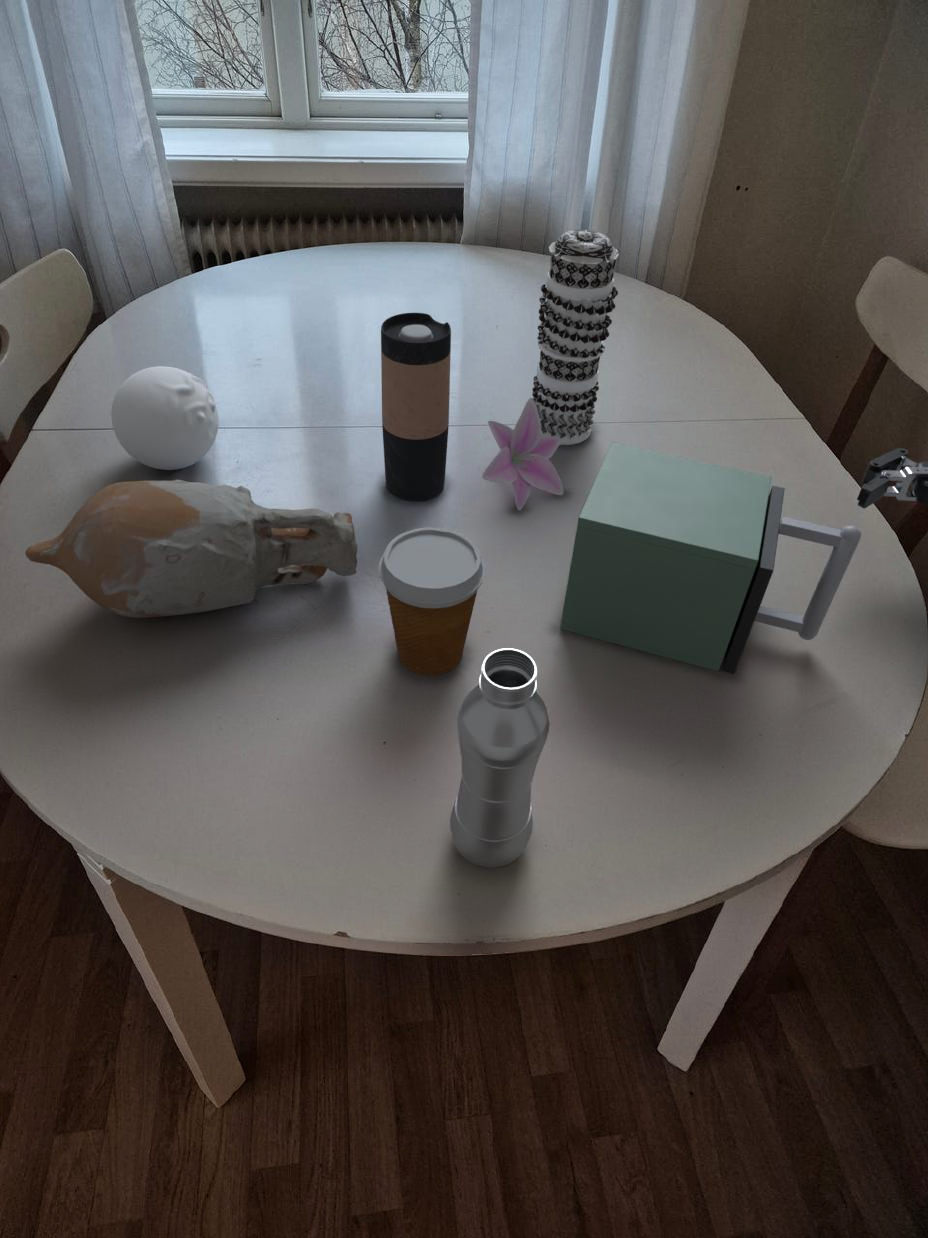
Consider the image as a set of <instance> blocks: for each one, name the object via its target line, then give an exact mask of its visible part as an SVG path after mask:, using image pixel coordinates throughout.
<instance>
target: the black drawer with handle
mask: <svg viewBox="0 0 928 1238" xmlns="http://www.w3.org/2000/svg"><path fill="white" fill-rule="evenodd" d="M785 490H786V489H785V487H782V486H781V487H780V486H776V485H772V486H771V487H770V490H769V497H768V503H767V509H766V515H765V522H764V528H763V534H762V540H761V547H760V553H759V559H758V563H757V566H756V568H755V571H754V574H753V577H752V580H751V582H750V585H749V588H748V591H747V594H746V596H745V599H744V602H743V605H742V608H741V610H740V613H739V616H738V619H737V621H736V624H735V627H734V630H733V633H732V635H731V638H730V641H729V644H728V647H727V649H726V652H725V655H724V658H723V661H722V668H721V671H722V672H723V673H728V674H732V675H735V673H736V671H737V668H738V666H739V663H740V660H741V657H742V655H743V652H744V650H745V647H746V645H747V642H748V639H749V636H750V634H751V631H752V629H753V627H754V623H755V622H756V623H761V624H764V625H769V626H773V627H777V628H780V629H783V630H789V631H791V632H796V633H798V635H799V637H800V638H801V639H803V640H805V641H810V640H811V641H812V640H813V639H815V638H816V637H817V636H818V633H819V631H820V629H821V627H822V624H823V621H824V620H825V617H826V615H827V613H828V611H829V609H830V606H831V604H832V602H833V600H834V598H835V596H836V594H837V590H838V589H839V586H840V585H841V582H842V580H843V578H844V576H845V574H846V571H847V569H848V567H849V565H850V563H851V561H852V558H853V556H854V554H855V552H856V549H857V547H858V545H859V543H860V540H861V538H862V533H861V532H862V531H861V530H860V528H859V527H857V526H856V525H852V524H851V525H850V524H849V525H846V526H844V527H842V528H841V529H839V528H835V527H829V526H826V525H822V524H817V523H813V522H808V521H804V520H800V519H795V518H792V517H787V516H782V511H783V504H784V496H785ZM779 535H782V536H786V537H790V538H794V539H799V540H803V541H808V542H812V543H816V544H821V545H825V546H829V547H832V550H831V552H830V554H829V555H828V556H829V557H828V559H827V561H826V563H825V566H824V568H823V571H822V573H821V575H820V577H819V580H818V582H817V585H816V587H815V589H814V592H813V594H812V596H811V599H810V600H809V603H808V606H807V608H806V610H805V612H804V615H803V616H802V615H800V614H799V615H798V614H795V613H790V612H787V611H783V610H779V609H774V608H770V607H766V606H763V605H762V602H763V599H764V597H765V595H766V591H767V588H768V586H769V584H770V581H771V579H772V576H773V573H774V571H775V563H776V555H777V547H778V539H779Z"/></svg>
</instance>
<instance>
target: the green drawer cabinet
mask: <svg viewBox="0 0 928 1238" xmlns="http://www.w3.org/2000/svg"><path fill="white" fill-rule="evenodd" d="M771 484H772V476H770V475H765V474H761V473H755V472H751V471H747V470H743V469H738V468H733V467H729V466H725V465H719V464H715V463H711V462H706V461H701V460H697V459H692V458H688V457H682V456H678V455H674V454H669V453H665V452H660V451H656V450H652V449H647V448H641V447H637V446H634V445H629V444H623V443H619V442H614V441H611V442H610V444H609V447H608V449H607V451H606V454H605V456H604V458H603V460H602V462H601V465H600V468H599V469H598V472H597V474H596V476H595V479H594V480H593V483H592V486H591V488H590V490H589V493H588V495H587V498H586V500H585V502H584V505H583V507H582V509H581V511H580V514H579V516H578V519H577V526H576V532H575V535H574V536H575V538H574V543H573V549H572V553H571V554H572V555H571V561H570V566H569V572H568V579H567V585H566V591H565V596H564V602H563V609H562V614H561V620H560V621H561V622H560V628H559V629H560V630H563V631H566V632H570V633H573V634H578V635H582V636H584V637H589V638H593V639H596V640H599V641H604V642H606V643H607V642H608V643H611V644H615V645H619V646H623V647H626V648H628V649H629V648H630V649H633V650H637V651H641V652H644V653H648V654H652V655H655V656H659V657H662V658H667V659H671V660H674V661H678V662H681V663H685V664H689V665H693V666H696V667H700V668H703V669H707V670H712V671H715V672H719V671H720V668H721V665H722V664H723V661H724V657H725V652H726V649H727V647H728V644H729V641H730V638H731V635H732V633H733V630H734V627H735V624H736V621H737V619H738V616H739V613H740V610H741V608H742V605H743V602H744V599H745V596H746V594H747V591H748V588H749V585H750V582H751V580H752V577H753V574H754V571H755V568H756V566H757V563H758V559H759V553H760V547H761V540H762V534H763V528H764V522H765V515H766V509H767V503H768V497H769V494H770V491H771Z"/></svg>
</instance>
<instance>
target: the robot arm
mask: <svg viewBox="0 0 928 1238" xmlns="http://www.w3.org/2000/svg"><path fill="white" fill-rule="evenodd" d="M909 453H910V452H909V450H908V449H906V448H904V447H897V448H895V449H893V450H891V451H888V452H886V453H885V454H882V455H881V456H878V457H876V458H873V459H872V460H870V461H869V463H868V466H867V467H866V470H865V472H864V474H863V477H862V479H861V483H862V486H861V489H860V491H859V493H858V495H857V498H856V500H858V502H857V506H858V507H860V508H862V509H864V510H865V509H867V508H868V507H870V506H872V505H873V504H875V503H877V502H878V501H880V500H882V499H883V497H895V498H896V500H897V501H900V502H918V503H920V504H922V505H923V506H927V507H928V461H921V462H918V463H917V462H915V461H913V460H912V459H909V458H908V455H909ZM894 481H895V482H896V484H894V485H891V482H894ZM910 487H911V490H909V488H910Z"/></svg>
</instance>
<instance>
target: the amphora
mask: <svg viewBox="0 0 928 1238" xmlns="http://www.w3.org/2000/svg"><path fill="white" fill-rule="evenodd" d="M358 546H359V545H358V543H357V539H356V531H355V526H354V523H353V517H352V514H350V513H349V512H335V513H334V514H333V515H332V514H331V513H329V512H327V511H324V510H322V509H320V508H317V507H312V508H301V509H287V508H269V507H265V506H262V505H259V504H257V503H255V502H254V500H253V498H252V493H251V490H250V489H248V488H246V487H244V486H242V485H239V486H238V487H234V486H231V485H229V484H228V485H227V484H222V485H217V484H210V483H209V484H208V483H204V482H198V481H197V482H195V481H193V482H192V481H185V480H183V479H174V480H133V481H121V482H120V481H119V482H114V483H111V484H108V485H106V486H104V487H103V488H102V489H100V490H98V491H96V493H94V494H92V496H90V497H89V498H88V499H87V500H86V501H85V502H84V503H83V504H82V505H81V506H80V507H79V509H78V510H77V511H76V513H75V514H74V515H73V516H72V518H71V519H70V521H69V522H68V524H67V525H66V527H65V528H64V529H63V530H62V532H61V533H60V534H59V535H57V536H56V537H54V538H52V539H49V540H45V541H41V542H38V543H34V544H32V545H30V546H28V547H27V548H26V549H25V557H26V558H27V559H28V560H29V561H30V562H33V563H37V564H43V565H49V566H51V567H55V568H57V569H59V570H61V571H62V572H64V573H65V574H66V575H67V576H68V577H69V579H70V580H71V581H72V582H73V583H74V584H75V585H76V586H77V587H78V588H79V590H81V591H82V593H83V594H84V595H86V596H87V597H88V598H89V599H90V600H92V601H93V602H94V603H95V604H97V605H98V606H99V607H101V608H102V609H104V610H106V611H108V612H109V613H111V614H114V615H118V616H121V617H125V618H136V619H137V618H139V619H140V618H142V619H143V618H144V619H145V618H158V617H159V618H160V617H169V616H180V615H189V614H195V613H196V614H197V613H203V612H209V611H215V610H221V609H227V608H230V607H237V606H241V605H246V604H250V603H252V602H254V599H255V598H256V597H255V596H256V592H257V589H258V588H263V587H267V586H268V587H269V586H279V585H280V586H281V585H296V584H299V585H300V584H301V585H302V584H303V585H308V584H310V583H316V582H317V581H319V580H321V578H322V577H323V576H324V575H325V574H326V572H327V570H329V571H330V572H333V573H335V574H336V575H337V576H341V577H350V576H352V575H356V573H357V567H358V566H357V565H358V557H357V554H358Z"/></svg>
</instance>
